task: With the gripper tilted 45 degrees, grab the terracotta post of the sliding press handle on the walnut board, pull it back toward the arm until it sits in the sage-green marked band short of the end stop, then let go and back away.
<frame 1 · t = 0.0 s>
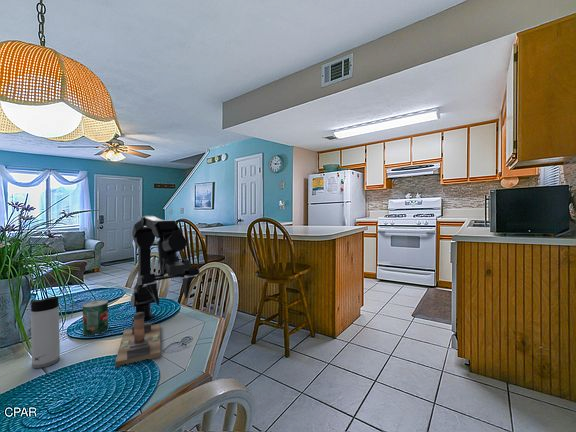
hand: (172, 301, 89), 15 cm above the table, tool pointing down, fingers open, 9 cm apart
handle: (139, 330, 85), point 8 cm above the table, slide at 0.0 cm
press base: (140, 344, 91), on the table
travel mug: (46, 363, 80), on the table
canned tomato: (96, 332, 101), on the table
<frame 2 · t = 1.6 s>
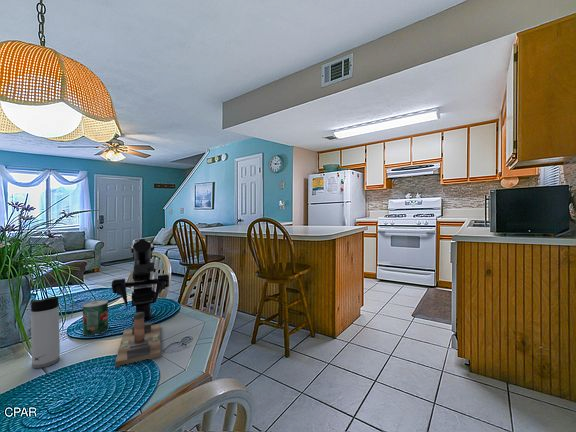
hand: (141, 304, 95), 13 cm above the table, tool tilted 45°, fingers open, 9 cm apart
nothing on the table moved.
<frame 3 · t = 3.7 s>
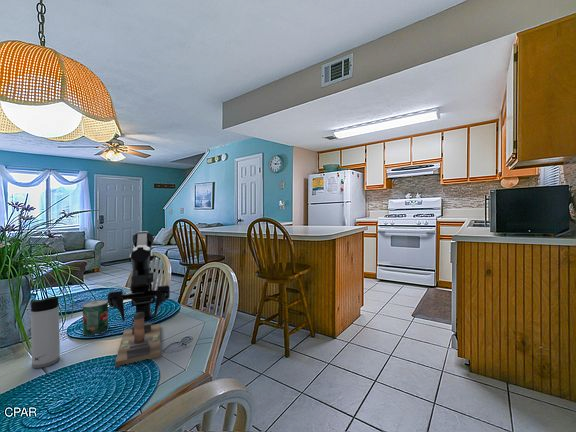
hand: (139, 318, 88), 10 cm above the table, tool tilted 45°, fingers open, 9 cm apart
nothing on the table moved.
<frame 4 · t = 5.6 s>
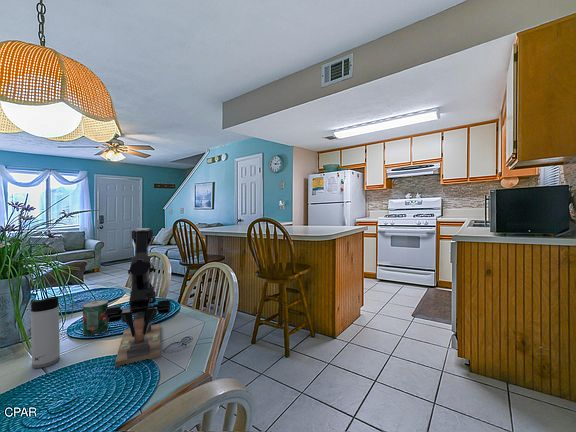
hand: (138, 335, 83), 7 cm above the table, tool tilted 45°, fingers closed on handle, 3 cm apart
handle: (139, 330, 85), point 8 cm above the table, slide at 0.0 cm, touching gripper
everything else where it was.
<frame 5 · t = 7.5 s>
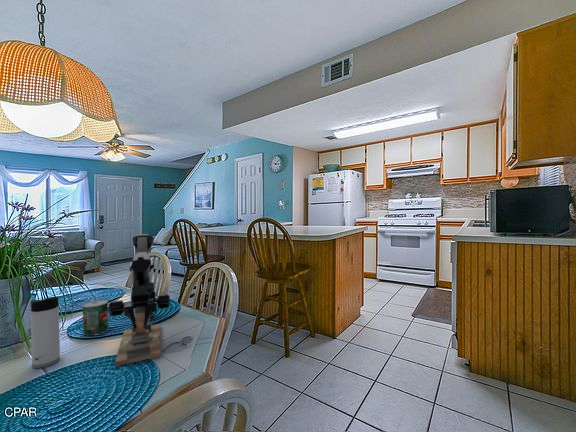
hand: (140, 328, 89), 7 cm above the table, tool tilted 45°, fingers closed on handle, 3 cm apart
handle: (140, 323, 90), point 8 cm above the table, slide at 5.9 cm, touching gripper
everything else where it was.
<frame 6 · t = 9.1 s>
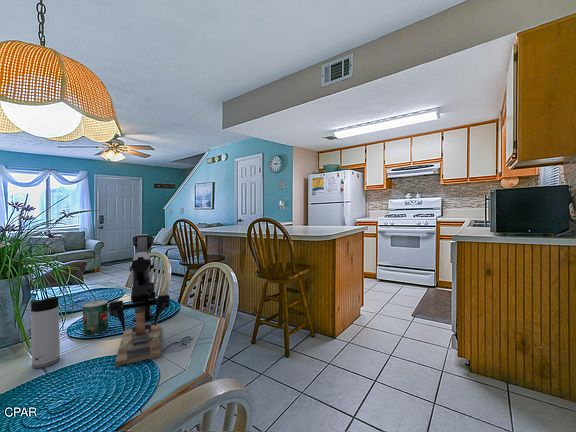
hand: (140, 328, 89), 7 cm above the table, tool tilted 45°, fingers open, 9 cm apart
handle: (140, 323, 90), point 8 cm above the table, slide at 6.0 cm
everything else where it was.
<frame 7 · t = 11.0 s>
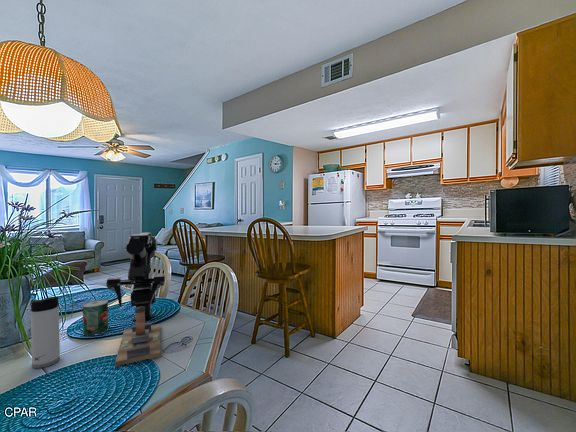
hand: (135, 305, 96), 12 cm above the table, tool tilted 30°, fingers open, 9 cm apart
nothing on the table moved.
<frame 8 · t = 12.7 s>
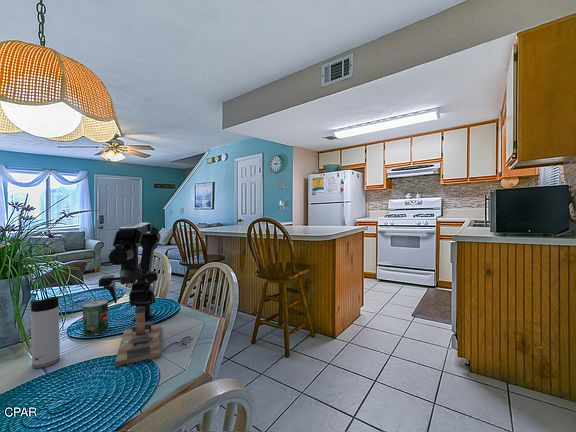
hand: (130, 301, 100), 12 cm above the table, tool pointing down, fingers open, 9 cm apart
nothing on the table moved.
at the end: handle slide at 6.0 cm; the gripper is holding nothing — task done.
